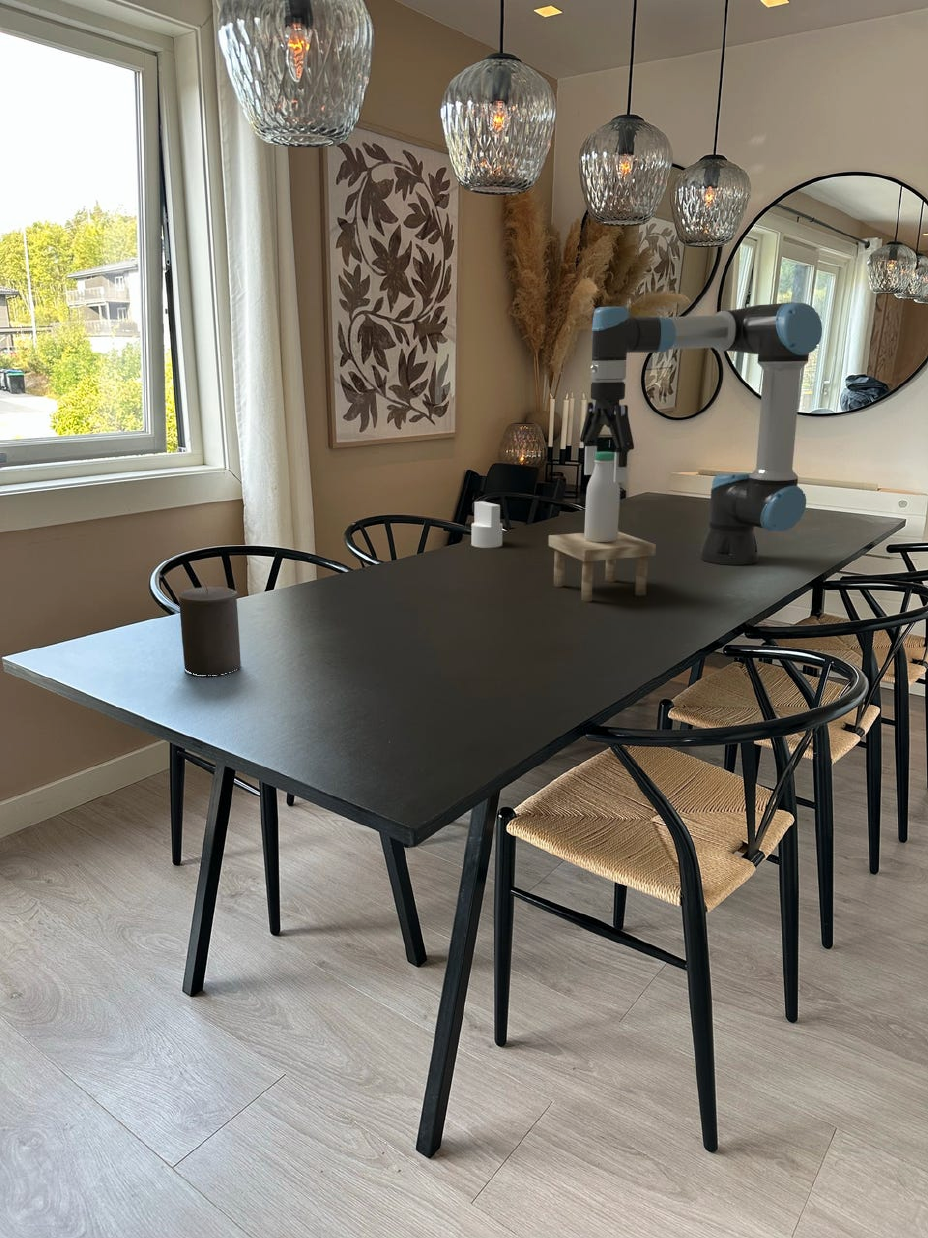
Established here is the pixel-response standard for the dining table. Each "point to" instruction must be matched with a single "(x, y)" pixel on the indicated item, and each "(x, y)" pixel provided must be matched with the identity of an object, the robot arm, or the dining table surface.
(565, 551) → the oak footstool
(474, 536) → the cylinder with rectangular tab
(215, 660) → the pillar candle
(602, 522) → the milk bottle
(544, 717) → the dining table surface
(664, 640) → the dining table surface
